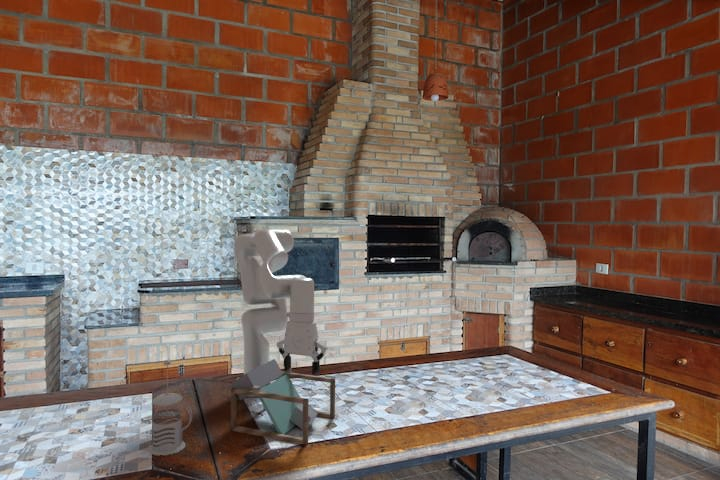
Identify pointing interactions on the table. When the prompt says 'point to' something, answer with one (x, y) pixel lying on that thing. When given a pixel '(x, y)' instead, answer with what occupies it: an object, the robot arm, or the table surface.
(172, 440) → the french press
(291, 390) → the hatch door
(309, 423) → the smooth gray block
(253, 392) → the stand
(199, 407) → the table surface
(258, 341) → the robot arm
